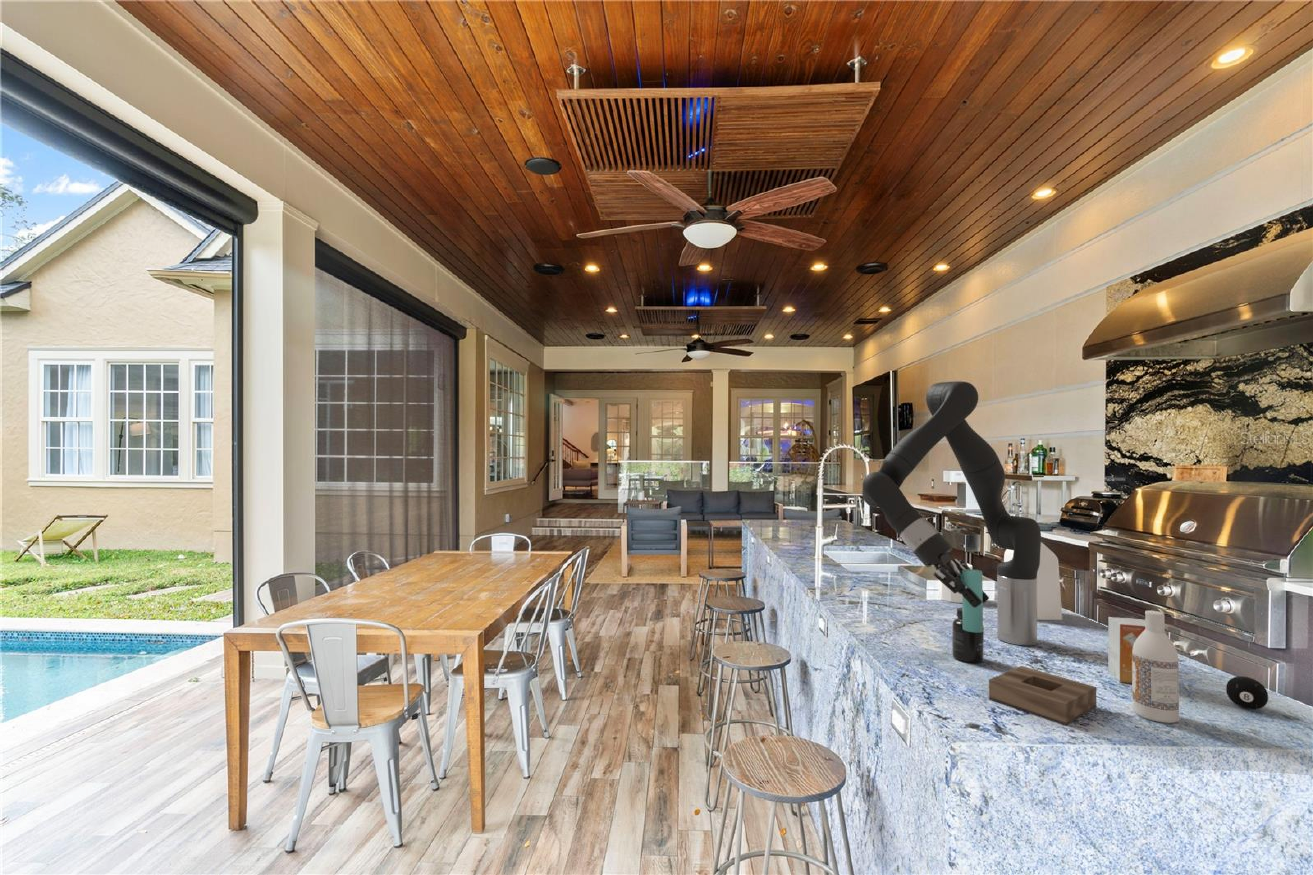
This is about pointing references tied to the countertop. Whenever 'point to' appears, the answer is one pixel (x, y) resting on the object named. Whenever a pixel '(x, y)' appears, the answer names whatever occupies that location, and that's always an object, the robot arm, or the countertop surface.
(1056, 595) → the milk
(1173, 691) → the bath foam
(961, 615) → the supplement bottle
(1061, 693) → the bore block
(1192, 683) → the countertop surface
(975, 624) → the pin
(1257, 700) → the billiard ball
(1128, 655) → the small box
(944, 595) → the toilet paper
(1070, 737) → the countertop surface
